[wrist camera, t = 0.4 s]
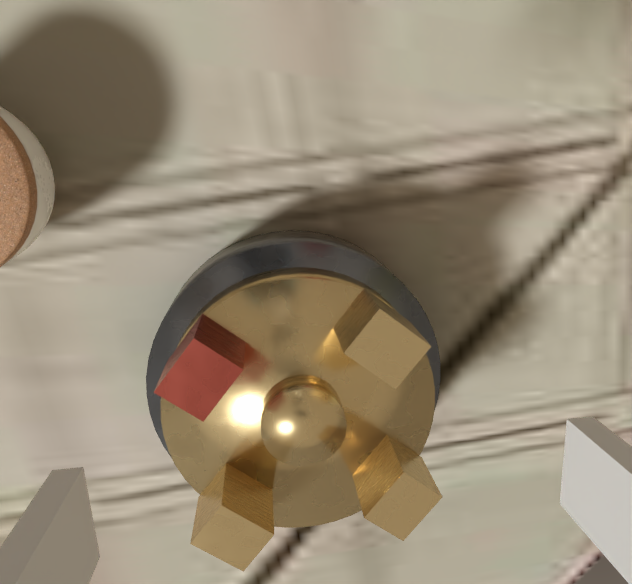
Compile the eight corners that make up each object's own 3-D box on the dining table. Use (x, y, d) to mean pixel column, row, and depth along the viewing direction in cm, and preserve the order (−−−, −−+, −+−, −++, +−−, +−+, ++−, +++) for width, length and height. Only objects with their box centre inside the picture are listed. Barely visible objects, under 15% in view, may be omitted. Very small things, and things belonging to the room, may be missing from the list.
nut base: (264, 173, 36) (265, 177, 31) (469, 330, 41) (499, 355, 36) (108, 389, 39) (85, 424, 34) (316, 510, 44) (324, 557, 39)
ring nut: (270, 213, 31) (273, 230, 25) (470, 361, 35) (519, 410, 29) (118, 420, 34) (82, 487, 27) (320, 535, 38) (333, 618, 31)
